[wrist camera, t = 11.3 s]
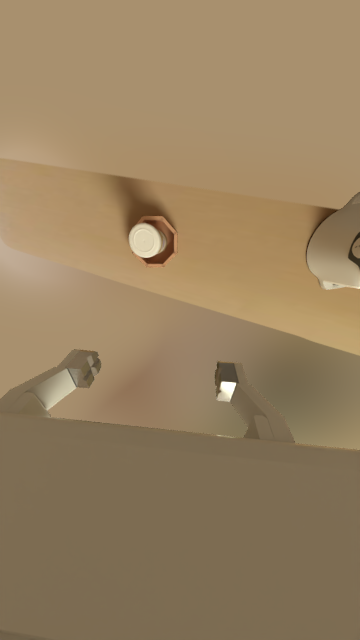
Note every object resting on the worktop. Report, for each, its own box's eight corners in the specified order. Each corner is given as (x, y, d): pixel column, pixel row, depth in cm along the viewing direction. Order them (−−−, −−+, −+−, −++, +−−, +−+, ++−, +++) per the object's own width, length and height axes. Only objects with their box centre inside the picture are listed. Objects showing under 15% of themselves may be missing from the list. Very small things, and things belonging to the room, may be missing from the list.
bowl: (177, 218, 34) (177, 216, 31) (177, 265, 38) (176, 267, 35) (133, 218, 34) (128, 215, 31) (137, 264, 38) (133, 266, 35)
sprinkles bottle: (168, 253, 36) (160, 258, 24) (147, 253, 37) (130, 258, 24) (167, 229, 35) (158, 222, 22) (145, 229, 35) (125, 222, 22)
